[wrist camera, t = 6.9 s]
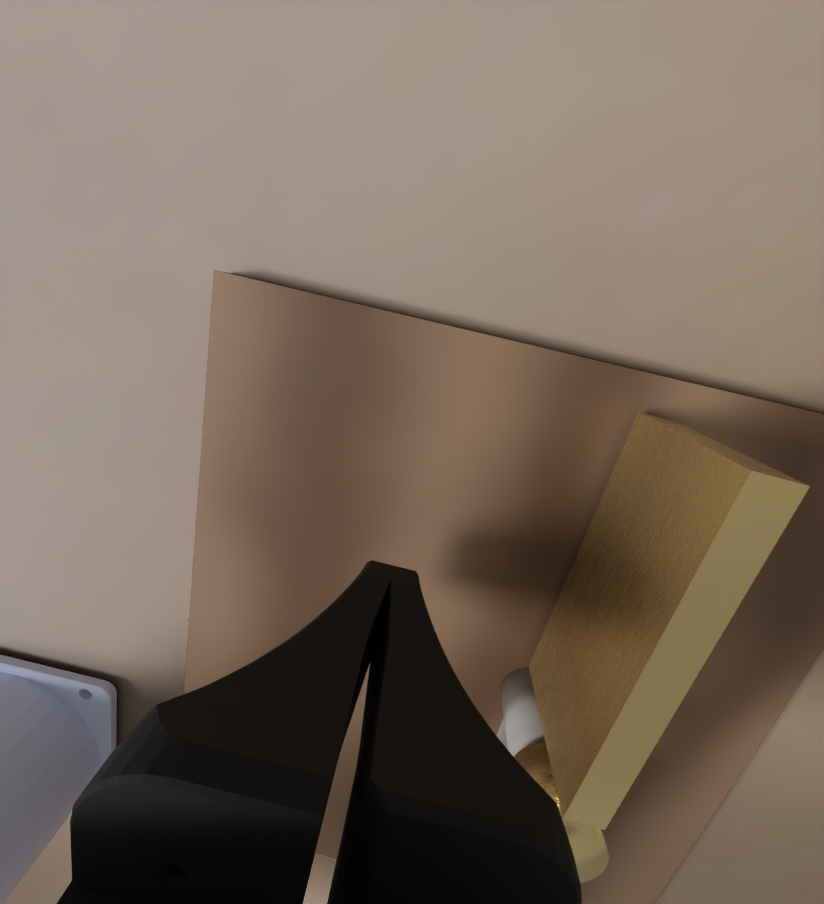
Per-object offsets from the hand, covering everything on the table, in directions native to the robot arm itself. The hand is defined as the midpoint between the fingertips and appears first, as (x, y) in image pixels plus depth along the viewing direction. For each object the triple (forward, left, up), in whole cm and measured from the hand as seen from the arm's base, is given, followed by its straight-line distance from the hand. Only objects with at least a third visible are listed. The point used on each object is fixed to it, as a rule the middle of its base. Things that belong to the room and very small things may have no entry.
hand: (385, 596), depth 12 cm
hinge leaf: (+6, +1, -2) cm, 6 cm away
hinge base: (+4, -4, -3) cm, 6 cm away
